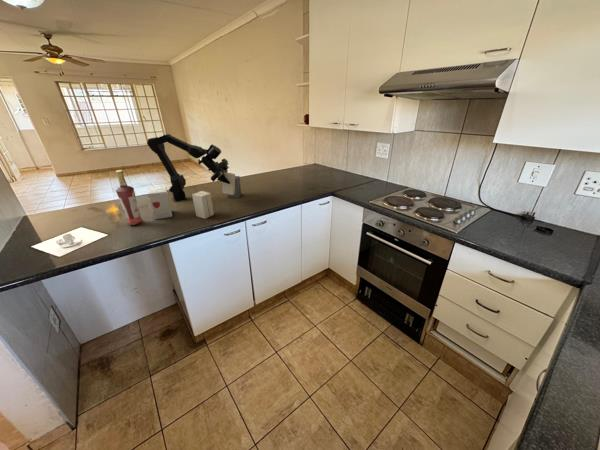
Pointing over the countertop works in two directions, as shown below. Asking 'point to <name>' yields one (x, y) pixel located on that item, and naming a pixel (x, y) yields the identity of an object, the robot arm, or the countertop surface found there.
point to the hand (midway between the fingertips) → (230, 182)
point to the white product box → (160, 202)
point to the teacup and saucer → (69, 241)
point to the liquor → (128, 200)
